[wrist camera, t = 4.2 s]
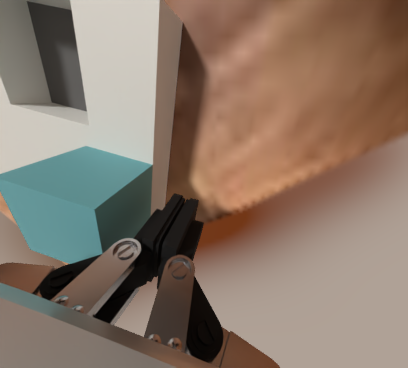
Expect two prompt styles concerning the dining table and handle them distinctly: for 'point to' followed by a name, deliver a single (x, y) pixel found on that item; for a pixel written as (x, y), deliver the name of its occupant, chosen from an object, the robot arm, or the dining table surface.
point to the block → (79, 202)
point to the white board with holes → (89, 81)
